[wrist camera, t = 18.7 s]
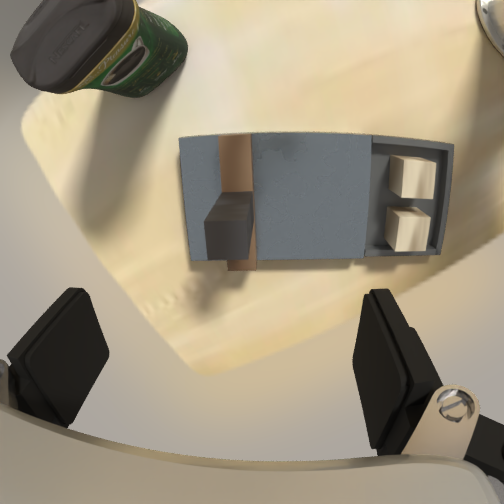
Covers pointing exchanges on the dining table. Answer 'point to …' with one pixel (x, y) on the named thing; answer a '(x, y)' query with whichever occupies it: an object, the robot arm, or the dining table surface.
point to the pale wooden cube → (406, 228)
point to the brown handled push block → (234, 207)
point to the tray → (385, 197)
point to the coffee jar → (97, 47)
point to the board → (288, 192)
